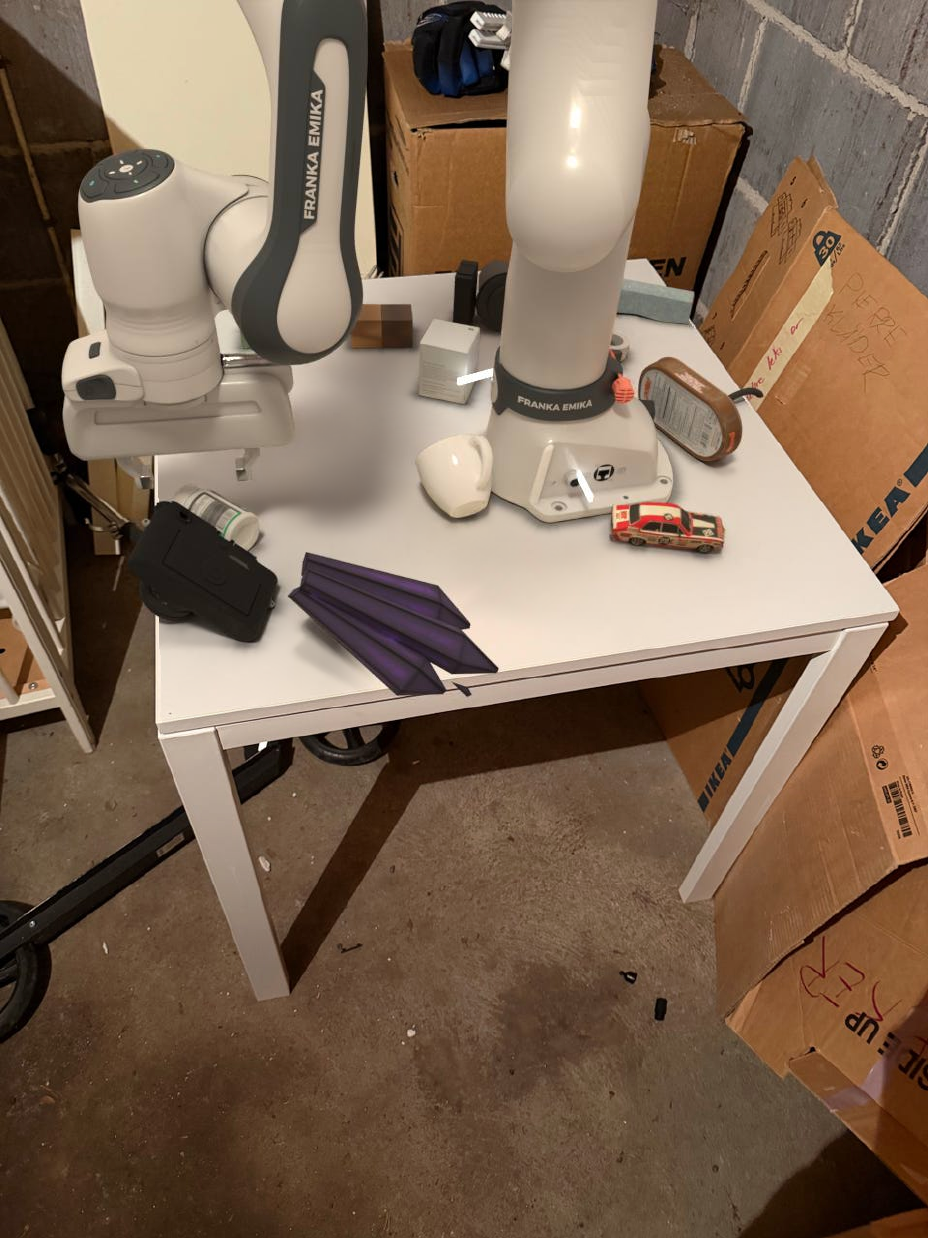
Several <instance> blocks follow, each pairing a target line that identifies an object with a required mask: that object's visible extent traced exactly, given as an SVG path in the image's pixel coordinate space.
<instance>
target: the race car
mask: <svg viewBox="0 0 928 1238" xmlns="http://www.w3.org/2000/svg"><path fill="white" fill-rule="evenodd" d="M610 535H611V537H612V539H614V540H615V541H618V542H623V543H624V542H625V543H628V544H631V545H633V546H637V547H642V546H644V545H649V546H655V547H663V548H672V549H673V548H674V549H684V550H693V549H694V550H696V551H697V553H699V554H703V555H705V554H707V553H709V552H711V551H712V550H713V549H714V550H716V551H717V550H719V549H722V548H724V545H725V538H726V528H725V526H724V523H723V519H722V517H721V516H719V515H714V514H710V513H707V512H698V511H691V510H685V509H684V508H682V507H681V506H680V505H678V504H676V503H673V502H666V503H662V502H644V503H635V504H633V505H612V510H611V513H610Z"/></svg>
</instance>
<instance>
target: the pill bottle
mask: <svg viewBox="0 0 928 1238" xmlns="http://www.w3.org/2000/svg"><path fill="white" fill-rule="evenodd" d="M172 501H175V502H178V503H179V504H181V505H182V506H184V507H185V508H187V509H188V510H190V511H191V512H193V513H194V514H196V515H197V516H199V517H200V518H202V519H203V520H205V521H206V522H208V523H209V524H211V525H212V526H214V527H215V528H217V531H218V530H219V531H221V533H220V534H219V535H221V536H222V537H224V538H225V539H227V540H228V541H230V540H232V539H233V540H234V541H235V543H236V544H238V545H239V546H241V547H242V548H244V549H245V550H247V551H248V552H249V550H250V549H251V548H252V547H253V546H254V545H255V543H256V542H257V540H258V537H259V535H260V530H261V525H260V520H259V517H258V516H257V514H255V513H253V512H252V511H249V510H248V509H246V508H244V507H243V506H241V505H239V504H237V503H236V502H234V501H232V500H230V499H228V498H227V497H225V496H223V495H221V494H220V493H219V492H216V491H215V490H212V489H208V488H207V489H205V488H204V489H203V488H202V487H200V486H198V485H196V484H194V483H187V484H185V485H182V486H181V487H180V488H178V489H177V491H176V492H175V493H174V494H173V497H172V499H171V501H170V502H172ZM217 531H216V532H217ZM235 543H234V544H235ZM233 546H234V545H233Z"/></svg>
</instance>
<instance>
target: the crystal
mask: <svg viewBox="0 0 928 1238" xmlns="http://www.w3.org/2000/svg"><path fill="white" fill-rule="evenodd" d="M301 563H302V564H301V575H300V576H302V577H301V578H300V584H299V586H297V587H295V588H293V589H292V590H291V592H289V594H288V595H287V597H288V598H289V599H290V600H291V601H292V602H293V603H294V604H295V605H296V606H297V607H299V609H301V610H302V611H303V612H305V614H306V615H308V617H310V618H311V620H313V621H314V622H315V623H316V624H317V625H318V626H320V627H321V628H322V629H323V630H324V631H325V632H326V633H327V634H328V635H329V636H330V637H331V638H333V640H335V642H337V643H338V644H340V646H341V647H342V648H344V649H345V650H346V651H347V652H348V653H349V654H350V655H351V656H352V657H353V658H355V659H356V660H357V661H358V662H359V663H360V664H361V665H362V666H363V667H365V668H366V669H367V670H368V671H369V672H370V673H371V674H372V675H373V676H375V678H377V680H379V681H380V682H381V683H382V684H383V685H384V686H386V688H387V689H388V690H390V691H391V692H392V693H393V694H394V695H395V696H396V697H403V696H405V697H406V696H433V695H434V696H436V695H437V696H438V695H444V694H445V693H446V692H447V687H445V684H444V683H443V681H442V679H441V678H440V676H439V675H438V673H437V671H436V669H435V667H434V666H436V667H437V668H439V669H441V670H443V671H444V672H446V673H448V674H450V675H484V674H486V675H488V674H489V675H490V674H497V673H498V672H499V670H500V668H499V666H497V664H495V663H494V661H493V660H492V659H490V657H489V656H488V655H487V654H486V653H485V652H484V651H483V650H482V649H481V648H480V647H479V646H478V645H477V644H476V643H475V642H474V641H473V640H472V639H471V638H470V637H469V636H468V635H467V634H466V633H465V632H464V631H465V630H470V629H471V622H470V621H469V619H468V618H467V617H466V616H465V615H464V614H463V613H462V612H461V610H460V609H459V608H458V607H457V606H456V605H455V603H454V602H453V601H452V600H451V598H450V597H449V596H448V595H447V594H446V593H445V592H444V591H443V589H442V588H441V587H440V586H439V585H438V584H434V583H430V582H427V581H422V580H418V579H415V578H412V577H406V576H402V575H398V574H394V573H391V572H387V571H383V570H379V569H375V568H371V567H367V566H363V565H359V564H355V563H351V562H348V561H343V560H339V559H335V558H332V557H327V556H324V555H320V554H315V553H312V552H309V551H305V553H304V557H303V559H302V562H301ZM463 630H464V631H463ZM451 683H452V684H453V685H454V686H455V687H456V688H457V689H458V690H459V691H460V693H462V694H463V695H464V696H465V697H466V698H469V697H471V696H472V695H473V694H472V692H471V690H470V689H469V687H468V686H466V685H463V684H460V683H457V682H454V681H451Z"/></svg>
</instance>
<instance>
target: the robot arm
mask: <svg viewBox="0 0 928 1238" xmlns="http://www.w3.org/2000/svg"><path fill="white" fill-rule="evenodd" d="M658 1H659V0H511V7H512V8H511V11H512V12H511V35H510V50H509V66H508V84H507V85H508V86H507V109H506V110H507V111H506V114H507V115H506V139H505V140H506V141H505V143H506V145H505V191H504V193H505V194H504V202H505V203H504V206H505V217H506V218H505V219H506V220H505V221H506V225H507V229H508V232H509V235H510V237H511V240H512V245H511V252H510V257H509V262H508V263H509V268H508V273H507V278H506V287H505V298H504V309H503V320H502V331H501V332H500V341H499V342H500V343H499V346H498V347H497V349H496V351H495V355H494V363H493V366H492V368H490V369H485V370H483V371H478V372H477V373H475V374H472V375H468V376H464V377H461V378H458V385H461V384H465V383H468V382H472V381H475V382H476V381H479V380H483V379H486V378H490V377H491V381H490V402H491V405H492V406H491V410H490V414H489V418H488V423H487V427H486V430H485V433H484V435H483V436H484V437H485V438H486V439H487V440H488V442H489V444H490V446H491V449H492V454H493V465H492V487H491V492H492V493H493V494H495V495H496V496H498V497H500V498H502V499H503V500H505V501H508V502H510V503H512V504H515V505H517V506H520V507H522V508H524V509H526V511H528V512H529V513H530V514H531V515H532V516H533V517H535V518H536V519H538V520H539V521H541V522H544V523H557V522H564V521H569V520H575V519H576V520H577V519H581V518H587V517H588V518H589V517H593V516H594V517H595V516H599V515H605V514H606V515H607V514H611V510H612V505H633V504H635V503H644V502H662V503H668V501H669V499H670V498H671V495H672V491H673V487H674V486H673V485H674V473H673V468H672V464H671V463H672V462H671V460H670V458H669V457H670V456H669V455H668V452H667V451H666V449H665V447H664V445H663V444H662V442H661V441H660V439H659V438H658V432H657V429H656V428H657V427H656V426H655V425H654V423H653V422H654V418H655V414H656V413H655V405H654V401H653V400H641V399H639V398H638V397H637V396H635V393H636V392H635V389H634V387H633V386H632V381H631V380H630V379H629V378H627V377H624V376H623V375H624V368H623V365H622V364H621V361H620V362H619V361H617V360H616V358H615V355H614V353H613V352H612V350H611V348H610V344H611V339H612V334H613V331H614V329H615V323H616V319H617V308H618V303H619V298H620V293H621V288H622V282H623V279H624V276H625V271H626V266H627V260H628V255H629V250H630V245H631V239H632V235H633V229H634V225H635V219H636V214H637V210H638V206H639V201H640V198H641V197H640V196H641V191H642V185H643V180H644V175H645V171H646V165H647V160H648V154H649V147H650V141H651V132H652V131H651V117H650V114H649V109H648V103H649V95H650V94H649V92H650V83H651V82H650V81H651V72H652V71H651V70H652V61H653V52H654V51H653V50H654V39H655V30H656V21H657V12H658ZM367 2H368V1H367V0H236V3H237V4H238V6H239V8H240V11H241V12H242V14H243V16H244V18H245V20H246V22H247V24H248V27H249V29H250V31H251V33H252V36H253V38H254V40H255V43H256V46H257V49H258V50H259V51H258V52H259V54H260V57H261V60H262V63H263V67H264V71H265V74H266V75H265V76H266V78H267V85H268V90H269V99H270V135H269V161H268V181H267V180H264V179H263V178H260V177H258V176H254V175H250V174H233V175H225V174H219V173H212V172H208V171H205V170H202V169H199V168H196V167H193V166H190V165H188V164H186V163H184V162H181V161H180V160H178V159H177V158H175V157H174V156H173V155H171V154H170V153H168V152H165V151H163V150H160V149H155V148H154V149H153V148H140V149H138V148H136V149H128V150H124V151H120V152H117V153H113V154H111V155H110V156H108V157H106V158H104V159H102V160H100V161H99V162H97V163H96V165H94V166H93V167H92V168H91V169H90V170H89V171H88V172H87V173H86V174H85V175H84V177H83V179H82V181H81V184H80V186H79V191H78V200H77V201H78V202H77V203H78V204H77V208H78V210H77V211H78V218H79V228H80V233H81V239H82V245H83V248H84V253H85V258H86V263H87V266H88V269H89V274H90V277H91V282H92V285H93V287H94V290H95V292H96V294H97V295H98V297H99V298H100V300H101V303H102V304H103V307H104V309H105V314H106V315H105V316H106V317H105V329H104V328H103V329H102V330H99V331H97V332H94V333H91V334H89V335H85V336H82V337H79V338H77V339H75V340H73V341H71V342H69V344H68V346H67V349H66V352H65V354H64V357H63V362H62V368H61V387H62V391H63V393H64V399H63V408H62V421H63V428H64V433H65V437H66V442H67V445H68V448H69V451H70V453H71V454H72V455H74V456H75V457H77V458H78V459H79V460H81V461H83V462H90V461H101V460H102V461H103V460H114V459H115V461H116V465H117V466H118V467H119V468H120V469H121V470H123V471H124V472H125V473H126V474H127V475H129V476H130V477H131V478H133V479H134V483H135V486H136V489H137V491H140V490H151V489H152V490H154V489H155V486H154V484H155V476H154V473H153V469H152V465H151V464H142V463H141V462H139V461H138V460H137V459H136V458H141V457H143V458H144V457H153V456H155V457H156V456H169V455H180V454H181V455H182V454H196V453H208V452H220V451H221V452H222V451H233V450H243V451H244V455H243V457H234V463H235V465H234V467H235V468H234V469H235V475H236V480H237V482H252V481H253V467H254V465H255V464H256V463H257V460H258V459H259V457H260V455H261V452H260V451H261V448H275V447H286V446H288V445H290V443H291V442H292V441H293V440H294V438H295V437H296V429H295V422H294V421H295V420H294V414H293V413H294V412H293V408H292V402H291V398H290V396H289V394H290V392H291V391H292V389H293V387H294V376H293V375H294V374H293V368H292V366H300V365H307V364H311V363H314V362H317V361H320V360H322V359H324V358H326V357H328V356H330V355H331V354H332V353H334V352H335V351H336V350H337V349H338V348H340V347H341V346H342V345H343V344H344V343H345V342H346V340H347V339H348V338H349V337H350V336H351V332H352V330H353V329H354V327H355V325H356V323H357V321H358V318H359V316H360V313H361V309H362V304H364V285H363V280H362V279H363V278H362V275H361V270H360V267H359V266H360V265H359V262H358V256H357V251H356V236H355V235H356V215H357V204H358V193H359V181H360V169H361V158H362V145H363V134H364V123H365V110H366V96H367V95H366V94H367V84H368V83H367V81H368V64H369V63H368V62H369V61H368V60H369V59H368V55H369V51H368V50H369V48H368V46H369V43H368V3H367ZM223 311H228V312H229V314H231V316H232V318H233V320H234V322H235V324H236V326H237V328H238V329H239V332H240V331H241V333H242V334H243V336H244V338H245V340H246V342H247V343H248V345H249V346H250V347H251V348H250V349H251V350H252V351H253V352H254V353H247V352H246V353H245V352H235V353H233V352H231V353H222V352H221V347H220V343H219V337H218V331H217V324H216V317H217V315H218V314H219V313H220V312H223ZM727 395H728V396H729V397H730V399H731V400H732V401H733V402H734V401H735V400H737V399H740V398H742V397H744V396H755V398H758V399H763V398H764V396H765V395H764V393H763V392H762V390H761V389H759V388H757V387H752V386H750V387H744V388H741V389H738V390H736V391H734V392H731V393H730V394H727Z"/></svg>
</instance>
